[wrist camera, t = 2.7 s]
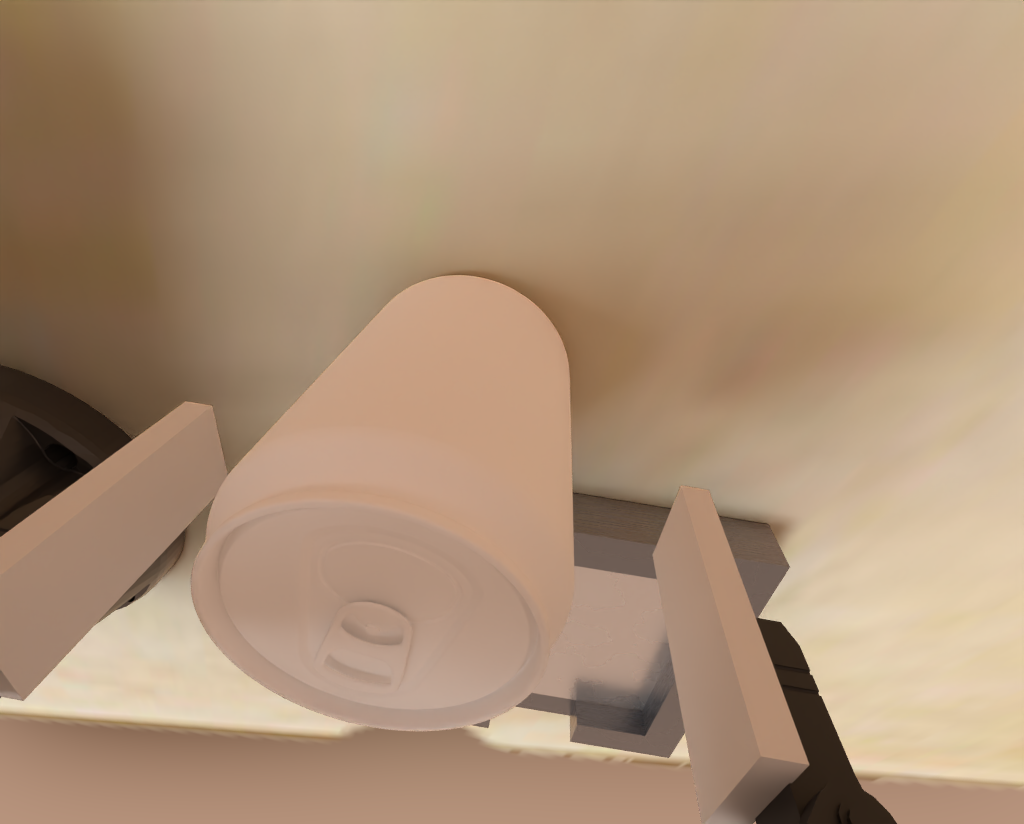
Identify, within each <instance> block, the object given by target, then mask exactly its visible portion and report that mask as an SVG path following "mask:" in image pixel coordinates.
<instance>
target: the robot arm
mask: <svg viewBox="0 0 1024 824" xmlns="http://www.w3.org/2000/svg"><path fill="white" fill-rule="evenodd" d="M227 476H228V473H227V469H226V464H225V460H224V455H223V451H222V447H221V442H220V438H219V433H218V429H217V424H216V420H215V415H214V411H213V406H212V405H206V404H200V403H194V402H188V401H185V402H184V403H182V404H181V405H180V406H178V407H177V408H175V409H174V410H173V411H171V412H170V413H169V414H167V415H166V416H165V417H163V418H162V419H161V420H159V421H158V422H156V423H155V424H154V425H152V426H151V427H150V428H148V429H147V430H146V431H144V432H143V433H141V434H140V435H139V436H137V437H136V438H135V439H133V440H132V439H131V438H130V437H129V436H128V435H127V434H126V433H125V432H123V431H122V430H121V429H120V428H119V427H118V426H116V425H115V424H114V423H113V422H111V421H110V420H109V419H107V418H106V417H105V416H103V415H102V414H101V413H99V412H98V411H96V410H95V409H94V408H92V407H90V406H89V405H87V404H86V403H84V402H83V401H81V400H79V399H78V398H76V397H74V396H73V395H71V394H69V393H67V392H65V391H64V390H62V389H60V388H58V387H56V386H54V385H52V384H50V383H47V382H45V381H43V380H41V379H38V378H36V377H34V376H31V375H29V374H26V373H23V372H20V371H18V370H15V369H11V368H8V367H5V366H1V365H0V698H1V697H6V698H11V699H17V700H22V701H24V700H25V699H26V698H27V696H28V695H29V694H30V693H31V692H32V691H33V690H34V689H35V688H36V687H37V686H38V685H39V684H40V683H41V682H42V681H43V679H44V678H45V677H46V676H47V675H48V674H49V673H50V672H51V671H52V670H53V669H54V668H55V667H56V666H57V665H58V663H59V662H60V661H61V660H62V659H63V658H64V657H65V656H66V655H67V654H68V653H69V652H70V651H71V650H72V649H73V648H74V646H75V645H76V644H77V643H78V642H79V641H80V640H81V639H82V638H83V637H84V636H85V635H86V634H87V633H88V632H89V630H90V629H91V628H92V627H93V626H94V625H96V624H97V623H98V622H100V621H101V620H103V619H104V618H105V617H107V616H108V615H110V614H111V613H112V612H114V611H115V610H117V609H121V608H123V607H126V606H128V605H130V604H131V603H133V602H135V601H136V600H138V599H140V598H141V597H143V596H144V595H145V594H146V593H148V592H149V591H150V590H151V589H152V588H153V587H154V586H155V585H156V584H157V583H158V582H159V581H160V580H161V578H162V577H163V576H164V575H165V574H166V573H167V572H168V570H169V569H170V568H171V567H172V566H173V565H174V564H175V562H176V561H177V560H178V558H179V556H180V554H181V552H182V549H183V546H184V541H185V528H186V527H187V526H188V525H189V524H190V523H191V522H192V521H193V520H194V519H195V518H196V517H197V516H198V515H199V513H200V512H201V511H202V510H203V509H204V508H205V507H206V506H207V505H208V504H209V503H210V502H211V501H212V500H213V499H214V498H215V496H216V494H217V492H218V490H219V488H220V486H221V485H222V483H223V482H224V480H225V478H226V477H227ZM653 560H654V566H655V571H656V577H657V582H658V588H659V593H660V598H661V604H662V609H663V615H664V620H665V626H666V631H667V637H668V642H669V648H670V653H671V659H672V664H673V669H674V675H675V680H676V686H677V691H678V697H679V702H680V708H681V713H682V719H683V724H684V729H685V735H686V740H687V746H688V751H689V757H690V762H691V768H692V773H693V778H694V784H695V789H696V795H697V800H698V806H699V811H700V817H701V822H702V824H753V823H754V822H755V821H756V824H897V823H896V822H895V820H894V819H893V817H892V816H891V814H890V813H889V812H888V811H887V810H886V809H885V808H884V807H883V806H882V805H881V804H880V803H879V802H878V801H877V800H876V799H875V798H874V797H873V796H871V795H869V794H868V793H867V792H865V791H864V790H863V789H862V787H861V785H860V783H859V782H858V780H857V778H856V776H855V774H854V772H853V769H852V767H851V765H850V762H849V760H848V758H847V755H846V753H845V751H844V748H843V746H842V744H841V741H840V739H839V737H838V734H837V732H836V730H835V727H834V725H833V723H832V720H831V718H830V716H829V713H828V711H827V709H826V706H825V704H824V702H823V699H822V697H821V696H819V694H818V692H819V690H818V688H817V685H816V683H815V681H814V678H813V676H812V675H810V669H809V667H808V664H807V662H806V660H805V657H804V655H803V653H802V650H801V648H800V646H799V644H798V643H797V642H796V641H795V639H794V638H793V637H792V636H791V634H790V633H789V632H788V631H787V629H786V628H785V627H784V626H783V624H782V623H781V622H777V621H771V620H765V619H760V618H756V617H755V615H754V612H753V609H752V607H751V604H750V601H749V598H748V596H747V593H746V590H745V587H744V585H743V582H742V579H741V576H740V574H739V571H738V568H737V566H736V563H735V560H734V557H733V555H732V552H731V549H730V546H729V544H728V541H727V538H726V536H725V533H724V530H723V527H722V525H721V522H720V519H719V516H718V514H717V511H716V508H715V505H714V503H713V500H712V497H711V495H710V492H709V490H706V489H700V488H694V487H688V486H682V485H681V486H680V489H679V491H678V494H677V496H676V499H675V501H674V503H673V506H672V508H671V511H670V513H669V516H668V518H667V521H666V523H665V526H664V528H663V531H662V533H661V535H660V538H659V540H658V543H657V545H656V548H655V550H654V553H653Z"/></svg>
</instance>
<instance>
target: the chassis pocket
mask: <svg viewBox="0 0 1024 824" xmlns="http://www.w3.org/2000/svg"><path fill="white" fill-rule="evenodd" d="M670 511H671V509H669V508H663V507H657V506H650V505H644V504H638V503H632V502H626V501H619V500H613V499H607V498H601V497H595V496H588V495H582V494H576V493H573V536H574V595H573V601H572V606H571V610H570V613H569V616H568V619H567V621H566V624H565V626H564V628H563V630H562V632H561V634H560V636H559V638H558V639H557V641H556V642H555V644H554V645H553V647H552V648H551V649H550V654H549V660H548V664H547V667H546V670H545V672H544V675H543V677H542V679H541V680H540V682H539V684H538V685H537V686H536V688H535V689H534V690H533V691H532V692H531V694H530V695H529V696H528V697H527V698H525V699H524V700H523V701H522V702H521V703H519V704H518V705H517V706H515V707H522V708H528V709H534V710H540V711H546V712H552V713H558V714H564V715H570V742H576V743H582V744H588V745H594V746H600V747H606V748H612V749H618V750H625V751H631V752H637V753H643V754H649V755H655V756H661V757H667V758H669V757H670V755H671V754H672V752H673V751H674V749H675V747H676V746H677V744H678V743H679V741H680V740H681V738H682V736H683V735H684V733H685V729H684V724H683V719H682V713H681V708H680V702H679V697H678V691H677V686H676V680H675V675H674V669H673V664H672V659H671V653H670V648H669V642H668V637H667V631H666V626H665V620H664V615H663V609H662V604H661V598H660V593H659V588H658V582H657V577H656V571H655V566H654V560H653V553H654V550H655V548H656V545H657V543H658V540H659V538H660V535H661V533H662V531H663V528H664V526H665V523H666V521H667V518H668V516H669V513H670ZM719 519H720V522H721V525H722V527H723V530H724V533H725V536H726V538H727V541H728V544H729V546H730V549H731V552H732V555H733V557H734V560H735V563H736V566H737V568H738V571H739V574H740V576H741V579H742V582H743V585H744V587H745V590H746V593H747V596H748V598H749V601H750V604H751V607H752V609H753V612H754V615H755V617H756V618H758V616H759V615H760V613H761V612H762V610H763V609H764V607H765V605H766V604H767V602H768V601H769V599H770V597H771V596H772V594H773V593H774V591H775V590H776V588H777V586H778V585H779V583H780V582H781V580H782V579H783V577H784V575H785V574H786V572H787V571H788V569H789V568H790V566H789V564H788V562H787V560H786V558H785V556H784V554H783V552H782V550H781V548H780V546H779V544H778V542H777V540H776V538H775V536H774V534H773V532H772V530H771V528H770V526H769V525H768V524H762V523H756V522H750V521H744V520H737V519H731V518H725V517H719ZM489 722H490V720H487V721H484V722H481V723H478V724H474V726H480V727H486V728H488V727H489Z"/></svg>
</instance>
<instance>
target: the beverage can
mask: <svg viewBox="0 0 1024 824" xmlns="http://www.w3.org/2000/svg"><path fill="white" fill-rule="evenodd" d="M191 594H192V599H193V603H194V607H195V610H196V612H197V615H198V617H199V619H200V621H201V623H202V625H203V627H204V629H205V630H206V632H207V634H208V635H209V636H210V638H211V639H212V641H213V642H214V643H215V644H216V646H217V647H218V648H219V649H220V650H221V651H222V653H223V654H224V655H225V656H226V657H227V658H228V659H229V660H230V661H231V662H233V663H234V664H235V665H236V666H237V667H238V668H239V669H241V670H242V671H243V672H244V673H246V674H247V675H248V676H250V677H251V678H252V679H254V680H255V681H257V682H258V683H260V684H261V685H263V686H264V687H266V688H267V689H269V690H271V691H272V692H274V693H276V694H278V695H280V696H282V697H283V698H285V699H287V700H289V701H291V702H294V703H296V704H298V705H300V706H302V707H305V708H307V709H310V710H312V711H315V712H318V713H320V714H323V715H326V716H329V717H332V718H336V719H339V720H343V721H346V722H350V723H355V724H359V725H364V726H369V727H375V728H382V729H390V730H401V731H436V730H448V729H455V728H461V727H466V726H470V725H474V724H478V723H481V722H484V721H487V720H490V719H492V718H495V717H497V716H499V715H501V714H503V713H505V712H507V711H509V710H510V709H512V708H514V707H515V706H517V705H518V704H519V703H521V702H522V701H523V700H524V699H525V698H527V697H528V696H529V695H530V694H531V692H532V691H533V690H534V689H535V688H536V686H537V685H538V684H539V682H540V680H541V679H542V677H543V675H544V672H545V670H546V667H547V664H548V660H549V654H550V649H551V648H552V647H553V645H554V644H555V642H556V641H557V639H558V638H559V636H560V634H561V632H562V630H563V628H564V626H565V624H566V621H567V619H568V616H569V613H570V610H571V606H572V601H573V595H574V536H573V492H572V449H571V405H570V371H569V363H568V357H567V353H566V350H565V347H564V344H563V342H562V340H561V337H560V335H559V334H558V332H557V330H556V328H555V327H554V325H553V324H552V322H551V321H550V320H549V318H548V317H547V316H546V315H545V314H544V313H543V311H542V310H541V309H540V308H539V307H538V306H536V305H535V304H534V303H533V302H532V301H531V300H529V299H528V298H527V297H525V296H524V295H522V294H521V293H519V292H517V291H516V290H514V289H512V288H510V287H508V286H506V285H504V284H501V283H499V282H496V281H493V280H490V279H486V278H481V277H476V276H468V275H449V276H440V277H435V278H431V279H427V280H424V281H422V282H419V283H417V284H414V285H412V286H410V287H408V288H407V289H405V290H403V291H402V292H400V293H399V294H398V295H396V296H395V297H394V298H393V299H392V300H391V301H390V302H389V303H388V304H387V305H386V306H385V307H384V308H383V309H382V310H381V311H380V312H379V313H378V314H377V315H376V316H375V317H374V318H373V319H372V320H371V322H370V323H369V324H368V325H367V326H366V327H365V328H364V329H363V330H362V331H361V332H360V333H359V334H358V335H357V337H356V338H355V339H354V340H353V341H352V342H351V343H350V344H349V345H348V346H347V347H346V348H345V349H344V350H343V351H342V353H341V354H340V355H339V356H338V357H337V358H336V359H335V360H334V361H333V362H332V363H331V364H330V365H329V366H328V367H327V369H326V370H325V371H324V372H323V373H322V374H321V375H320V376H319V377H318V378H317V379H316V380H315V381H314V382H313V384H312V385H311V386H310V387H309V388H308V389H307V390H306V391H305V392H304V393H303V394H302V395H301V396H300V397H299V398H298V400H297V401H296V402H295V403H294V404H293V405H292V406H291V407H290V408H289V409H288V410H287V411H286V412H285V413H284V414H283V416H282V417H281V418H280V419H279V420H278V421H277V422H276V423H275V424H274V425H273V426H272V427H271V428H270V429H269V430H268V432H267V433H266V434H265V435H264V436H263V437H262V438H261V439H260V440H259V441H258V442H257V443H256V444H255V445H254V447H253V448H252V449H251V450H250V451H249V452H248V453H247V454H246V455H245V456H244V457H243V458H242V459H241V460H240V462H239V463H238V464H237V465H236V466H235V467H234V468H233V469H232V471H231V472H230V473H229V474H228V476H227V477H226V478H225V480H224V482H223V483H222V485H221V486H220V488H219V490H218V492H217V494H216V496H215V498H214V501H213V503H212V506H211V509H210V512H209V517H208V522H207V528H206V541H205V543H204V544H203V546H202V547H201V549H200V551H199V552H198V554H197V557H196V559H195V562H194V565H193V569H192V574H191Z"/></svg>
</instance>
